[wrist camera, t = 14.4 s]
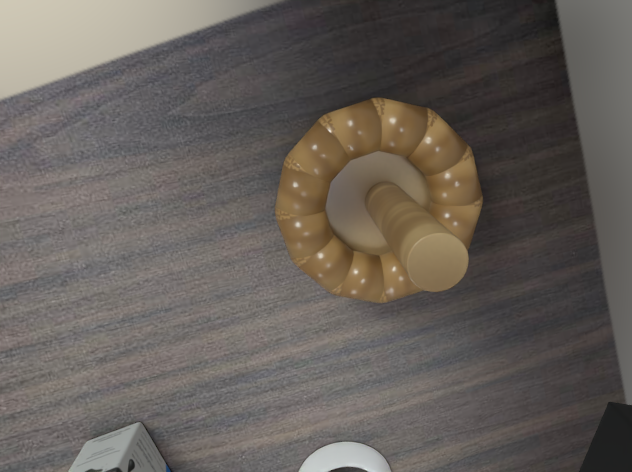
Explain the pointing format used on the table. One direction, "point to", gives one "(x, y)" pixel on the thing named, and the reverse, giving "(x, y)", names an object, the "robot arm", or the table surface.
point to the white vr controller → (345, 458)
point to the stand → (395, 219)
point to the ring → (356, 141)
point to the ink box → (121, 453)
